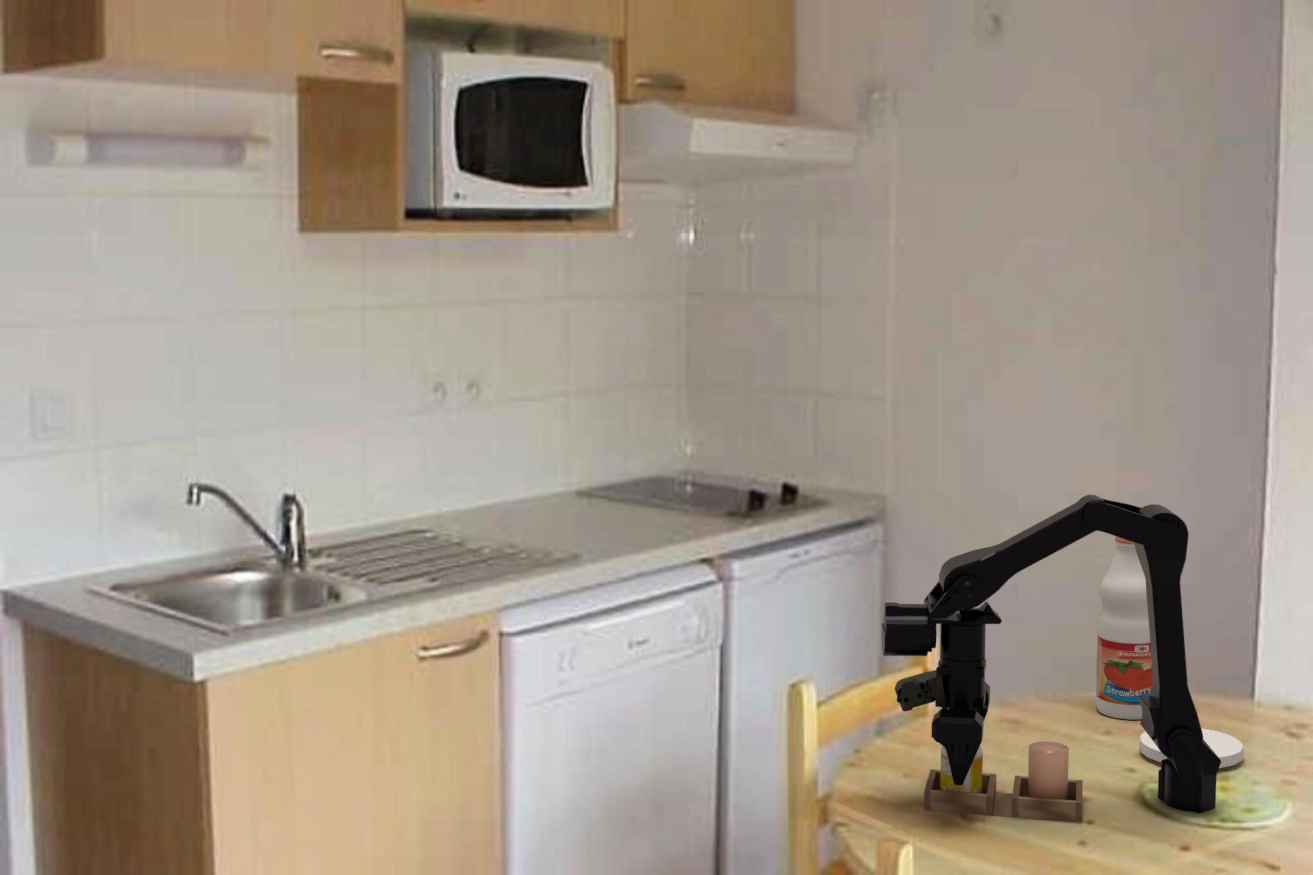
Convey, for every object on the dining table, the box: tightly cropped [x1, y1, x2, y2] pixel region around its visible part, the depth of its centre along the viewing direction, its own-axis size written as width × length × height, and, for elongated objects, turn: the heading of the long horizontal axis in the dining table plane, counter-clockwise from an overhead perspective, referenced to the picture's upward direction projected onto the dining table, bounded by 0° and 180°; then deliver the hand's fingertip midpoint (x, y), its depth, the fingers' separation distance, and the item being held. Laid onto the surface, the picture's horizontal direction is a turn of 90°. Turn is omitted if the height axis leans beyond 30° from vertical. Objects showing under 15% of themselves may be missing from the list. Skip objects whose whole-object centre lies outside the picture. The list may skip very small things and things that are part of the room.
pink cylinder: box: [1027, 740, 1070, 800], centre depth 209 cm, size 5×5×8 cm
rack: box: [923, 768, 1084, 824], centre depth 210 cm, size 20×9×4 cm, turn 75°
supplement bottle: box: [940, 745, 984, 794], centre depth 211 cm, size 5×5×10 cm
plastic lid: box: [1138, 727, 1245, 769], centre depth 231 cm, size 14×14×2 cm
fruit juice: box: [1095, 536, 1153, 721], centre depth 250 cm, size 9×9×28 cm
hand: (961, 772), depth 211 cm, fingers open, 9 cm apart
